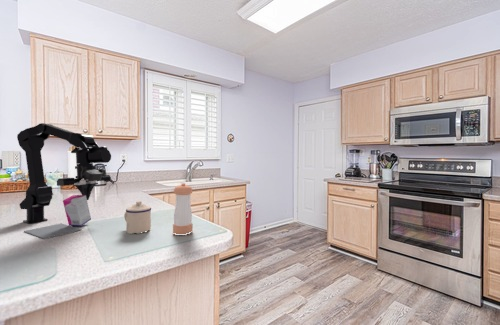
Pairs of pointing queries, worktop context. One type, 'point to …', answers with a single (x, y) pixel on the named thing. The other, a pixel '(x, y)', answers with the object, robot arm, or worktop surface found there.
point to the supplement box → (77, 210)
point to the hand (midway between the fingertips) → (86, 200)
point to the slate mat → (52, 231)
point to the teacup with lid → (138, 218)
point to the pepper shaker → (182, 210)
